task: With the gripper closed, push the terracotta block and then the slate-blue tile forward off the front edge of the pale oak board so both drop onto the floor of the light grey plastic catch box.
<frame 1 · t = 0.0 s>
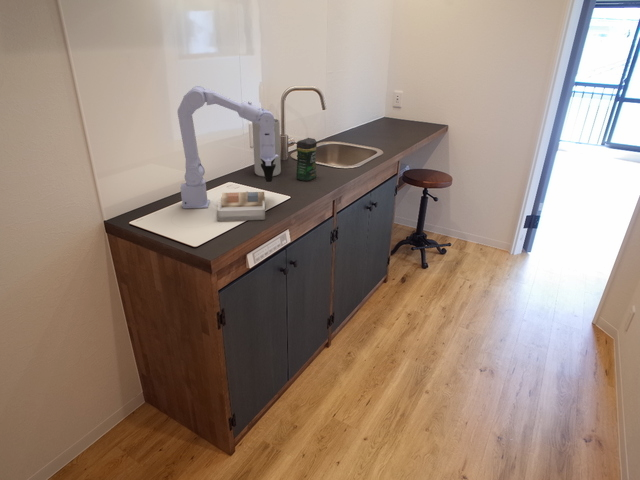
hand: (268, 178, 164), 10 cm above the counter, fingers open, 7 cm apart
terracotta block: (233, 200, 163), point 2 cm above the counter, touching oak board
catch box: (242, 215, 156), on the counter
slate tile: (253, 199, 164), point 2 cm above the counter, touching oak board
oak board: (243, 204, 166), on the counter
cylinder vase: (267, 173, 203), on the counter
coffee jar: (306, 178, 197), on the counter
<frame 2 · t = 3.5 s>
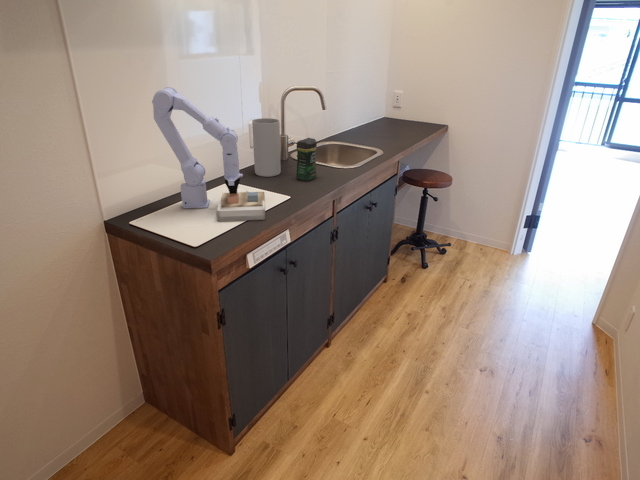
hand: (233, 197, 164), 3 cm above the counter, fingers closed
terracotta block: (233, 201, 162), point 3 cm above the counter, touching gripper
everything else where it was.
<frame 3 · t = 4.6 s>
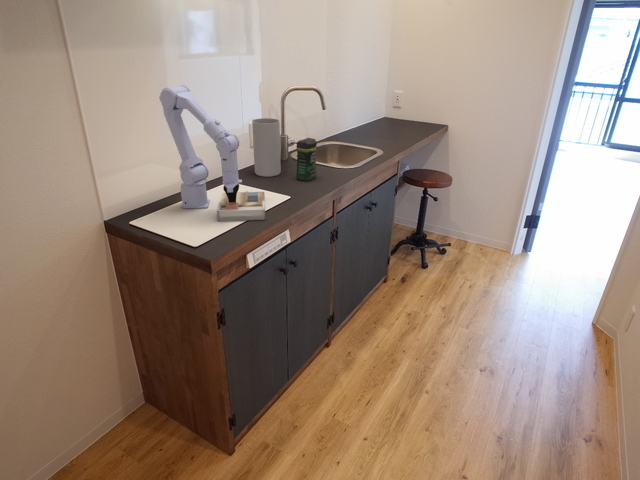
hand: (232, 204, 158), 3 cm above the counter, fingers closed
terracotta block: (232, 210, 156), point 2 cm above the counter, touching catch box, gripper
everything else where it was.
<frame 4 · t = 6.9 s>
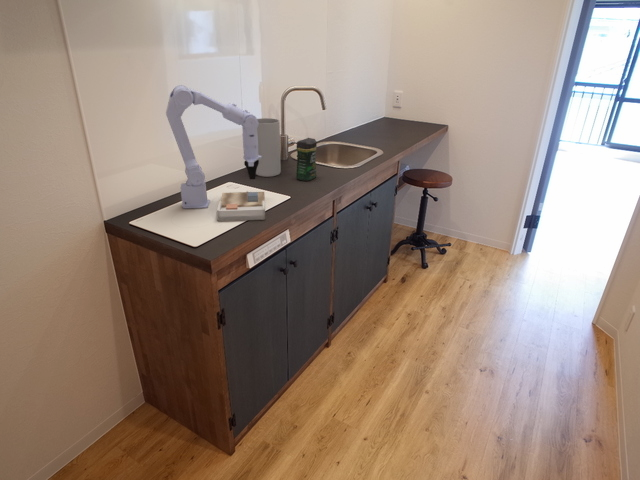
hand: (252, 178, 169), 8 cm above the counter, fingers closed
terracotta block: (232, 212, 154), point 2 cm above the counter, touching catch box
everything else where it was.
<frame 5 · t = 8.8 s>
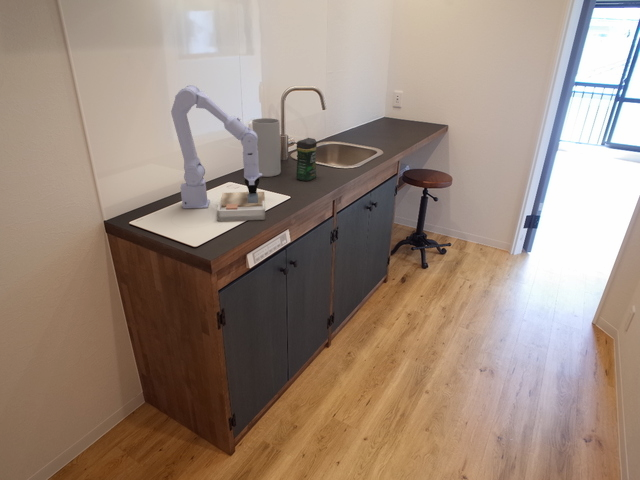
hand: (253, 196, 165), 3 cm above the counter, fingers closed
slate tile: (252, 201, 162), point 2 cm above the counter, touching oak board
everything else where it was.
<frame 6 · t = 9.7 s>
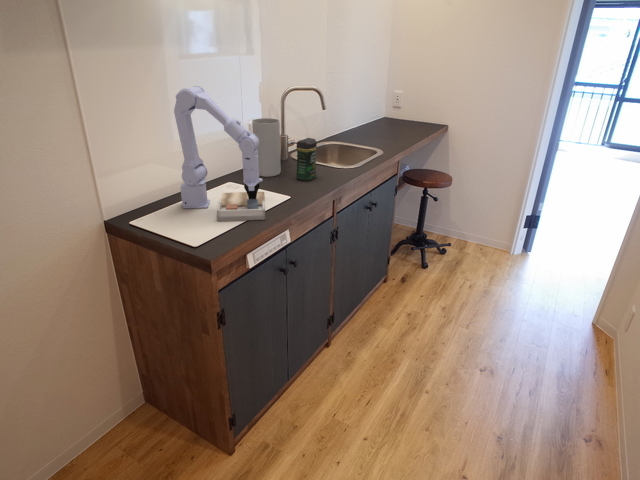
hand: (252, 202, 159), 3 cm above the counter, fingers closed
slate tile: (252, 207, 158), point 2 cm above the counter, tilted 12°, touching gripper
everything else where it was.
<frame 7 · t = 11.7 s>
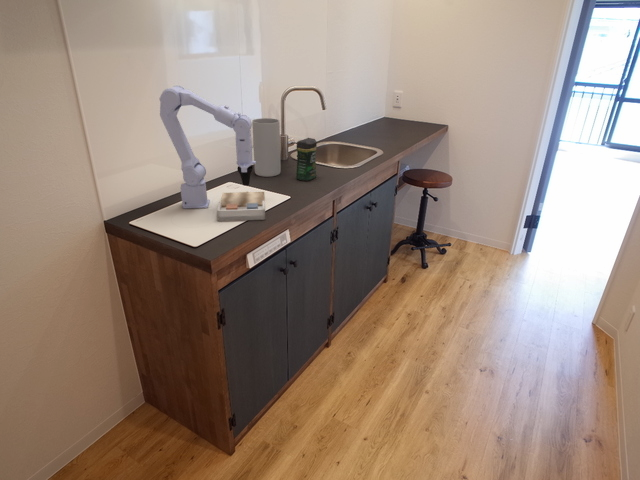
hand: (246, 184, 161), 9 cm above the counter, fingers closed
slate tile: (252, 211, 155), point 2 cm above the counter, touching catch box
everything else where it was.
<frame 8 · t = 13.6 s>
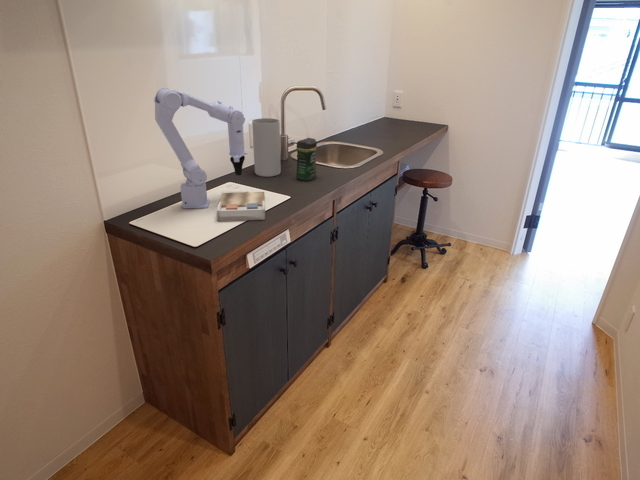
hand: (238, 174, 170), 9 cm above the counter, fingers closed
nothing on the counter moved.
at the end: terracotta block inside the target area (3.5 cm from its centre), point 1.7 cm above the counter; slate tile inside the target area (4.0 cm from its centre), point 1.7 cm above the counter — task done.
